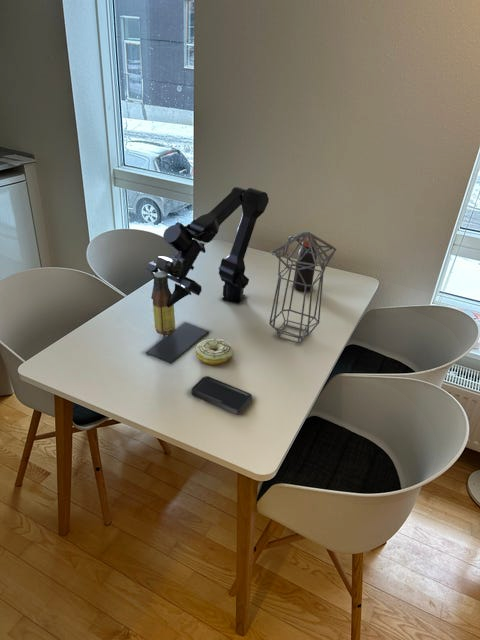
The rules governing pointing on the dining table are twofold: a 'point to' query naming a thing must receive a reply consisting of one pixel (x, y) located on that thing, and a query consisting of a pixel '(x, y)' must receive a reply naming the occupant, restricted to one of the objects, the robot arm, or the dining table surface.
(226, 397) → the phone
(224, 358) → the decorated donut
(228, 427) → the dining table surface
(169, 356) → the mat
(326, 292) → the dining table surface
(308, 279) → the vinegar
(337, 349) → the dining table surface
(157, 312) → the sauce bottle
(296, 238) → the geometric lantern
